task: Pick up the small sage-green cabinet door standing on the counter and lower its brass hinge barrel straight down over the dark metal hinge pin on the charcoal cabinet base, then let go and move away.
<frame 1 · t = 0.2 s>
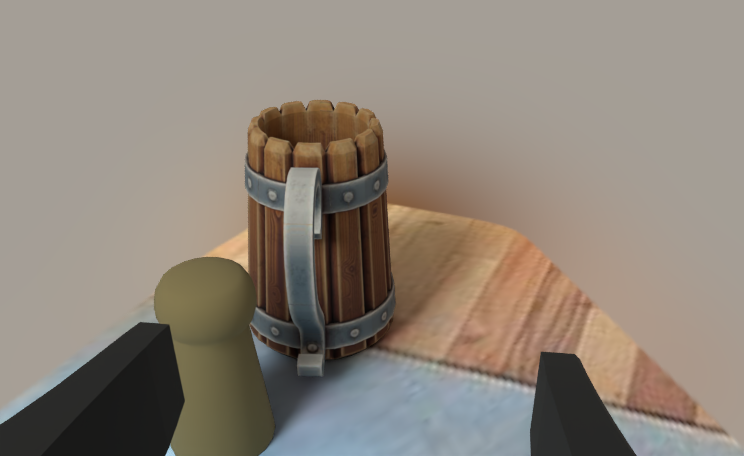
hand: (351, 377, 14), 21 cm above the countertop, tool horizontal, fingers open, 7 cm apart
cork: (223, 432, 41), on the countertop
mug: (318, 342, 49), on the countertop
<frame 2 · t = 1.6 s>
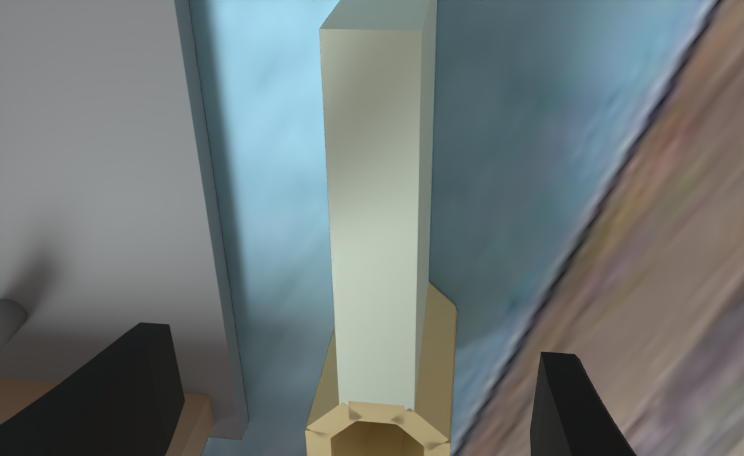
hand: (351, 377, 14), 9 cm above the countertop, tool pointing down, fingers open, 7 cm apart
door: (398, 322, 25), on the countertop
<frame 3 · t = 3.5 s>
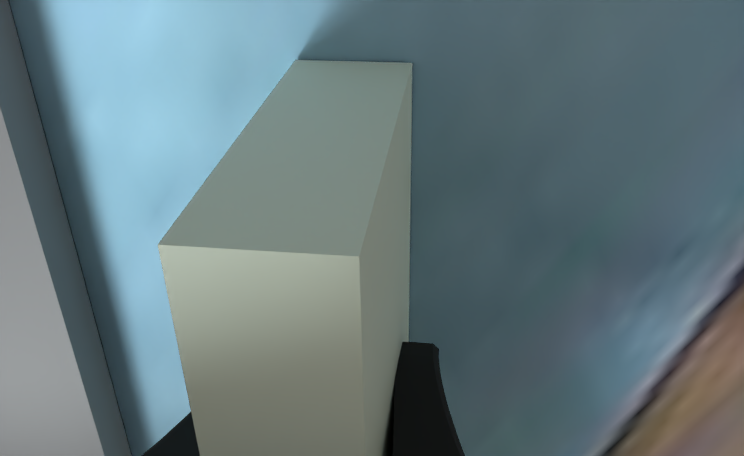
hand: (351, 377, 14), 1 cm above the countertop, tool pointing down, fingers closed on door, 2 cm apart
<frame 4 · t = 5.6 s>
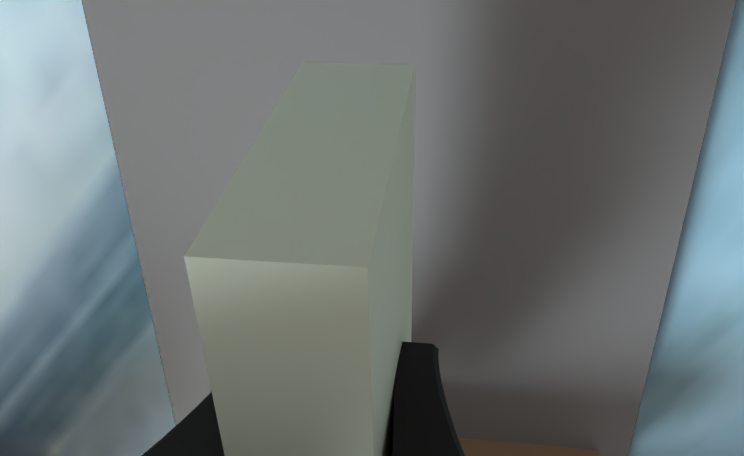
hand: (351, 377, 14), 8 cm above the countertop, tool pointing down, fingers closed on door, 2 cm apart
cabinet base: (394, 225, 22), on the countertop
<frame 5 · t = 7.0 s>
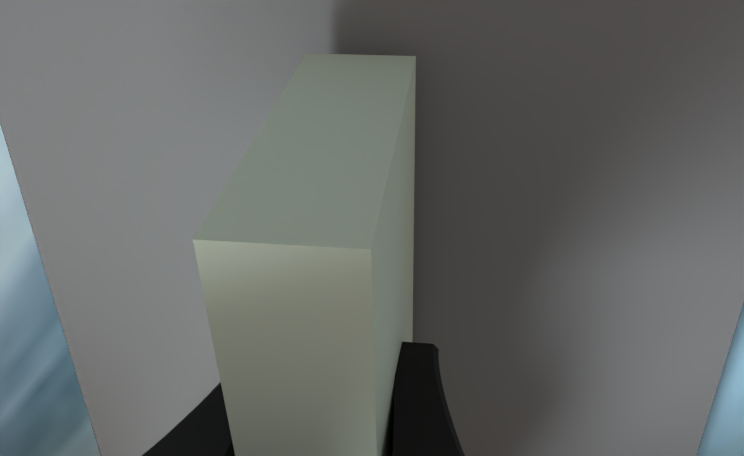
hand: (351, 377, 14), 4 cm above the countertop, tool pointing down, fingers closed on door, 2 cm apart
cabinet base: (377, 315, 18), on the countertop
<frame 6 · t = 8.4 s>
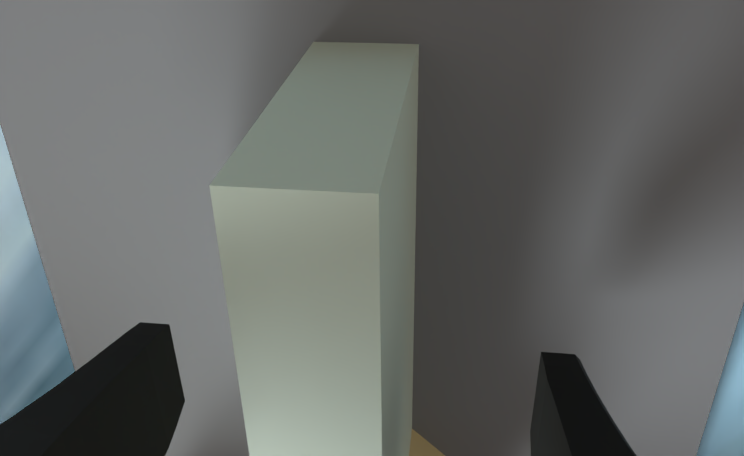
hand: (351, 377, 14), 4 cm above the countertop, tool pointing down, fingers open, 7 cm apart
cabinet base: (377, 315, 18), on the countertop
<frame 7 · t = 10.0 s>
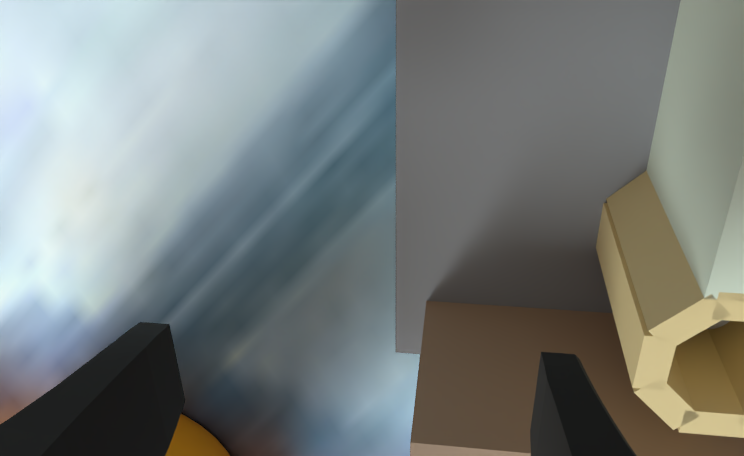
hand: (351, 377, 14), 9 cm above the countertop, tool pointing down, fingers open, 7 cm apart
cabinet base: (696, 62, 19), on the countertop
door: (670, 229, 20), point 1 cm above the countertop, touching cabinet base
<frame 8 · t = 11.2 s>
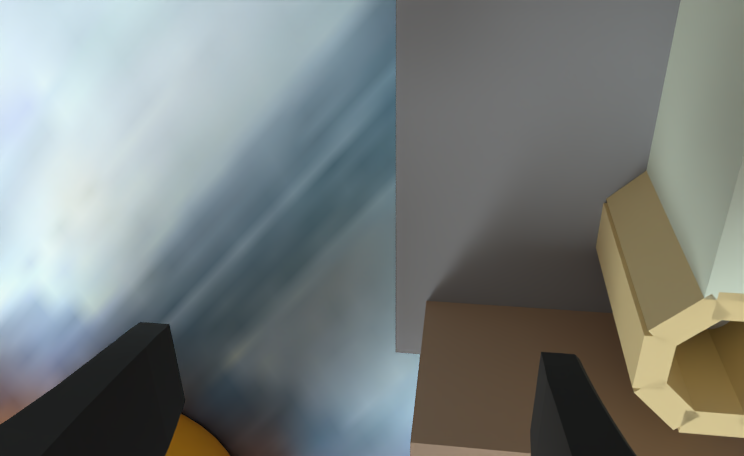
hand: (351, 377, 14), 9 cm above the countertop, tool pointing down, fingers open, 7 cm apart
cabinet base: (696, 62, 19), on the countertop
door: (670, 229, 20), point 1 cm above the countertop, touching cabinet base
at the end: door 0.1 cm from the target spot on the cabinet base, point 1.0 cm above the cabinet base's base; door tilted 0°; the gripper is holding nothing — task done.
